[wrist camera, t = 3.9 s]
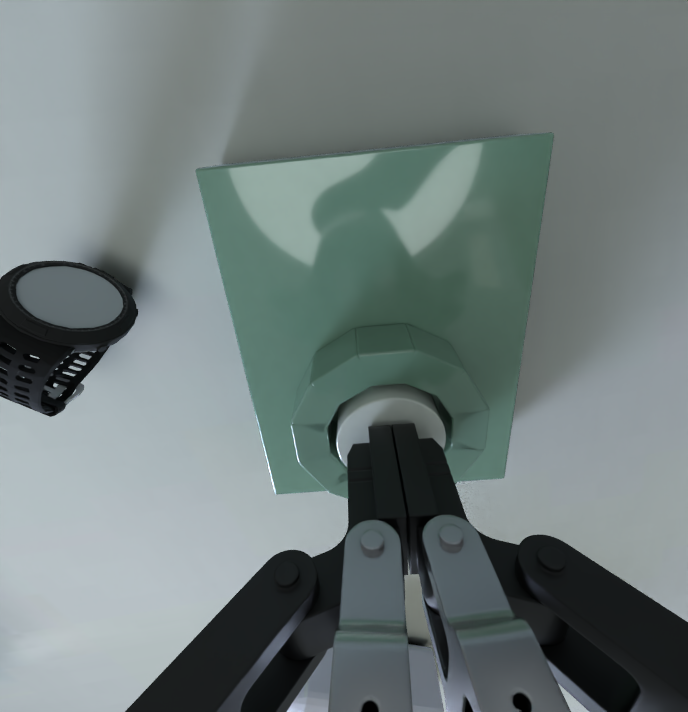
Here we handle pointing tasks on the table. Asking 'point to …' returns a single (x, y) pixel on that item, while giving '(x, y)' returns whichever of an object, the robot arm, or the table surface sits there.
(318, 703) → the charger
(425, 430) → the white cylindrical knob
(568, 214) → the table surface
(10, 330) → the smartwatch
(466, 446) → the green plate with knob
